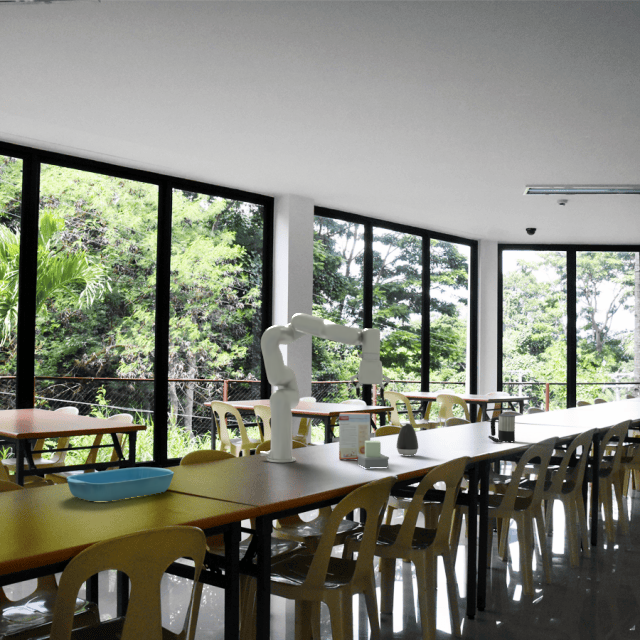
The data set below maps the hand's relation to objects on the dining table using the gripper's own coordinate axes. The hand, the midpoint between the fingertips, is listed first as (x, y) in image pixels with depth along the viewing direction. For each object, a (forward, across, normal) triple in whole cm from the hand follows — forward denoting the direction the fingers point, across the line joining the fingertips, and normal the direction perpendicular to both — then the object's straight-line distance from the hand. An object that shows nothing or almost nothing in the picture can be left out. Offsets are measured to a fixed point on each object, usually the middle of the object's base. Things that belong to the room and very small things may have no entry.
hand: (369, 397), depth 291 cm
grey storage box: (+29, +2, 0) cm, 29 cm away
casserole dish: (+31, -88, -59) cm, 111 cm away
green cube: (+24, +2, 0) cm, 24 cm away
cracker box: (+30, -4, +20) cm, 36 cm away
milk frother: (+28, +83, +86) cm, 123 cm away
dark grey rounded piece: (+29, +22, +32) cm, 49 cm away
